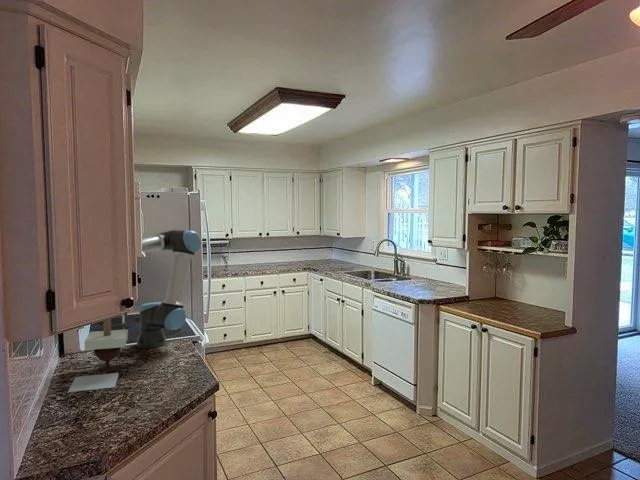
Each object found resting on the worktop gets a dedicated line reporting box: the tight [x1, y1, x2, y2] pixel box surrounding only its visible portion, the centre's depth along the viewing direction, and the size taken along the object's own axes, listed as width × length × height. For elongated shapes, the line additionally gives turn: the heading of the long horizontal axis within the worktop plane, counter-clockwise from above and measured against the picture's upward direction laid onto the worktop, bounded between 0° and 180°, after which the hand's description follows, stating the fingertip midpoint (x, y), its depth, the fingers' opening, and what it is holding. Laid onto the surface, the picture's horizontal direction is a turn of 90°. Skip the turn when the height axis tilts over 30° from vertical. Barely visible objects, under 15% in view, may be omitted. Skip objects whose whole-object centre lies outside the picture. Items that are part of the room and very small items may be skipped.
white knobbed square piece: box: [84, 318, 129, 351], centre depth 195 cm, size 16×16×13 cm
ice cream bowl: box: [93, 347, 122, 371], centre depth 196 cm, size 11×11×15 cm
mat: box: [67, 372, 120, 393], centre depth 179 cm, size 17×17×1 cm
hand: (107, 323), depth 195 cm, fingers open, 13 cm apart
